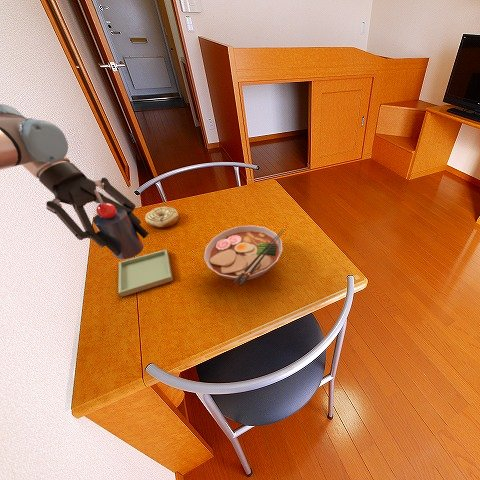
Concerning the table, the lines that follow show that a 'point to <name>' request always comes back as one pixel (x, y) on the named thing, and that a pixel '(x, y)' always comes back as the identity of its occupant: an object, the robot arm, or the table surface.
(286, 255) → the table surface
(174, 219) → the decorated donut
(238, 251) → the ramen bowl
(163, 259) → the serving tray
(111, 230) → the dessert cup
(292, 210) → the table surface
